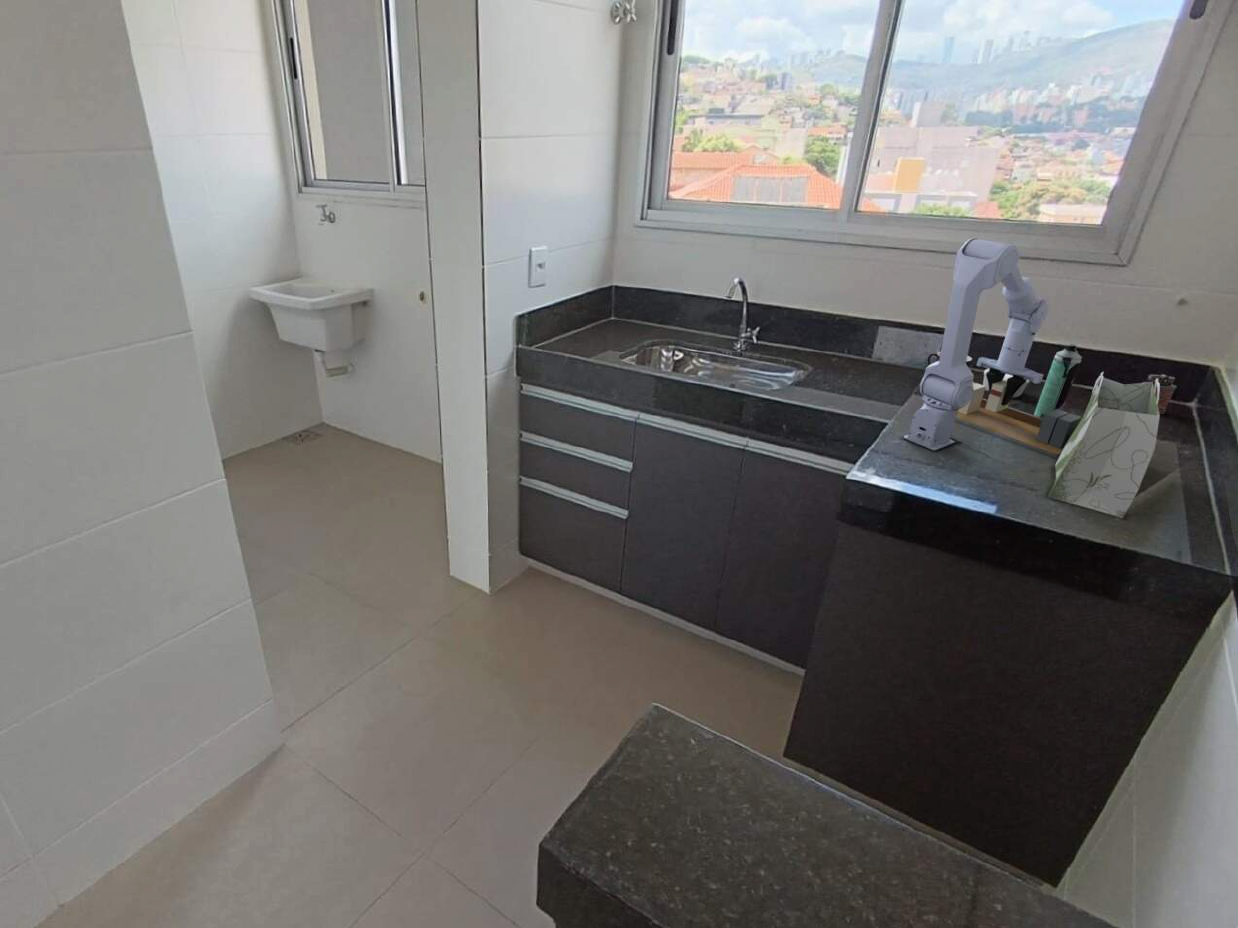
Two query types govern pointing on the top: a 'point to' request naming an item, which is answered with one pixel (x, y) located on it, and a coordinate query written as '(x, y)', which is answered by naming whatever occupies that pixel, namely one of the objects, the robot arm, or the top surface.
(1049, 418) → the grey book
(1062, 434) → the grey book
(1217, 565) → the top surface
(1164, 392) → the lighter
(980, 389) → the cream rectangular block
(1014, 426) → the shelf board
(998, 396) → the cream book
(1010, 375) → the ramekin
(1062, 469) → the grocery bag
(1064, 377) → the spray can
